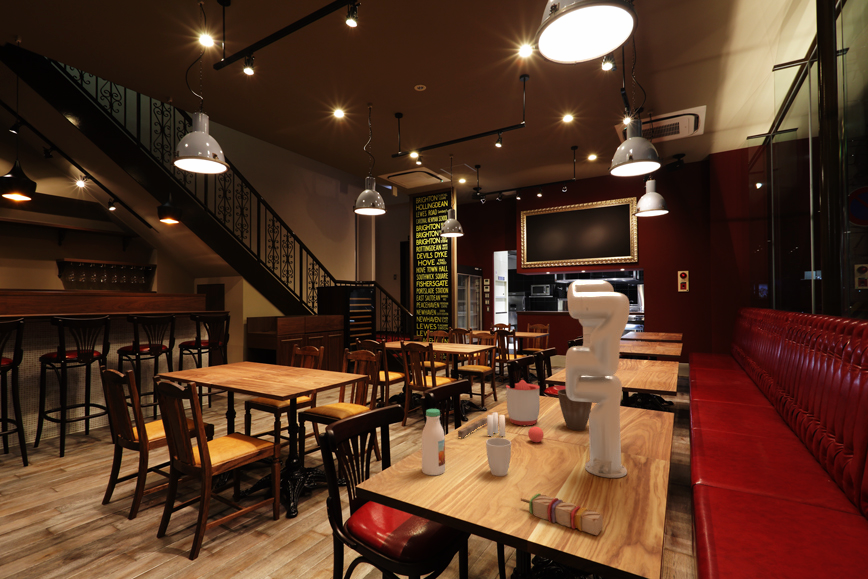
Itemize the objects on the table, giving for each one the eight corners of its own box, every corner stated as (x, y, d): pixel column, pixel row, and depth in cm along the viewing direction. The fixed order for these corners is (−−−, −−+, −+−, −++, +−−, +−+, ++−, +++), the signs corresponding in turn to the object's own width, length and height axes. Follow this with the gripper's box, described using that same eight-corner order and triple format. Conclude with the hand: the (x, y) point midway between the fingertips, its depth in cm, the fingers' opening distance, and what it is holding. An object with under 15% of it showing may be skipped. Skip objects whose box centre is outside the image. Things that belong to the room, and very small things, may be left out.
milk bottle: (431, 478, 129) (431, 414, 130) (417, 470, 135) (416, 409, 136) (450, 471, 134) (449, 410, 135) (435, 465, 140) (434, 406, 141)
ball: (540, 445, 159) (540, 429, 159) (526, 442, 162) (525, 427, 162) (545, 441, 164) (545, 426, 164) (531, 438, 167) (530, 423, 167)
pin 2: (496, 434, 174) (496, 414, 174) (491, 433, 175) (491, 413, 175) (499, 432, 176) (498, 412, 176) (494, 431, 177) (493, 412, 177)
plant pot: (591, 435, 171) (589, 396, 171) (555, 430, 178) (554, 393, 179) (596, 426, 183) (595, 390, 184) (562, 422, 191) (561, 387, 192)
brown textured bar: (462, 439, 168) (462, 431, 168) (458, 438, 169) (458, 430, 169) (487, 424, 188) (487, 418, 188) (483, 424, 189) (483, 417, 189)
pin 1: (491, 437, 169) (491, 416, 170) (486, 436, 171) (486, 415, 171) (494, 435, 172) (493, 415, 172) (489, 434, 173) (488, 414, 173)
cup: (515, 471, 134) (514, 440, 135) (506, 480, 127) (505, 447, 128) (492, 466, 138) (491, 436, 139) (482, 475, 131) (482, 443, 132)
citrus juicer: (518, 415, 203) (517, 375, 204) (547, 423, 189) (546, 379, 190) (496, 421, 193) (496, 378, 194) (525, 429, 180) (524, 384, 181)
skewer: (605, 529, 99) (604, 508, 99) (596, 541, 94) (595, 519, 94) (527, 504, 112) (526, 485, 113) (515, 513, 107) (515, 493, 108)
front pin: (503, 437, 169) (503, 416, 170) (498, 436, 171) (498, 415, 171) (506, 435, 171) (505, 415, 172) (500, 434, 173) (500, 414, 173)
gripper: (574, 337, 175) (575, 377, 174) (595, 340, 158) (597, 385, 157) (590, 337, 176) (591, 377, 175) (613, 340, 159) (615, 384, 158)
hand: (594, 381), depth 166 cm, fingers open, 9 cm apart
